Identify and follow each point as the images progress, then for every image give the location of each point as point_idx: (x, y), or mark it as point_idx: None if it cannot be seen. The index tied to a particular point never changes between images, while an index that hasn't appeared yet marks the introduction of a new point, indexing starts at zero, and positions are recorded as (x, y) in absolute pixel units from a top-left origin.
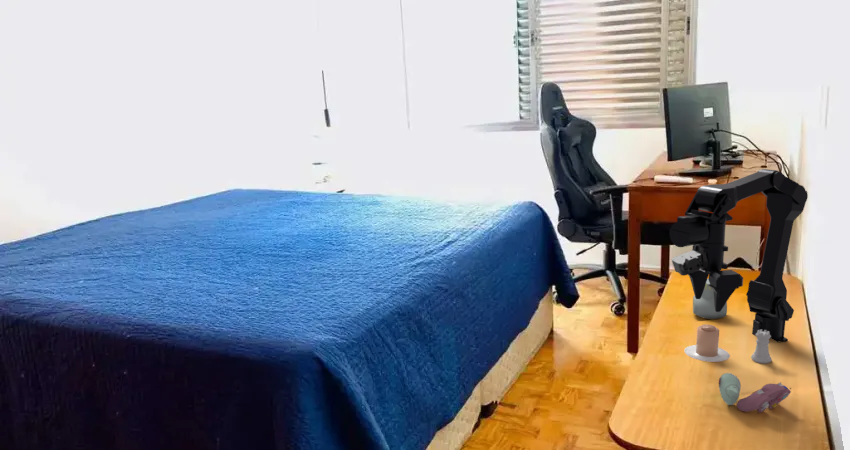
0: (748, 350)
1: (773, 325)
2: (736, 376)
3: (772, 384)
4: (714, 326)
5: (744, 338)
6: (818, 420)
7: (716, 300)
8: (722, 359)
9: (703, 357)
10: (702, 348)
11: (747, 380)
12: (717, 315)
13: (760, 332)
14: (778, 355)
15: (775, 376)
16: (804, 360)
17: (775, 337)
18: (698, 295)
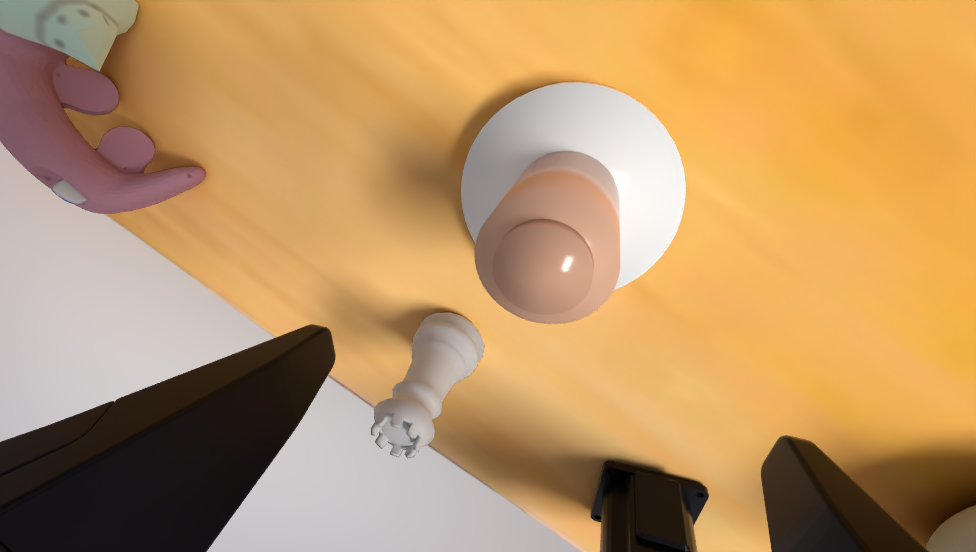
0: (572, 383)
1: (605, 547)
2: (88, 65)
3: (12, 146)
4: (533, 309)
5: (682, 448)
6: (118, 219)
7: (123, 397)
8: (477, 224)
9: (517, 153)
10: (529, 169)
11: (331, 207)
12: (942, 532)
13: (402, 429)
14: (505, 423)
15: (360, 309)
16: (457, 446)
17: (602, 503)
18: (788, 497)
